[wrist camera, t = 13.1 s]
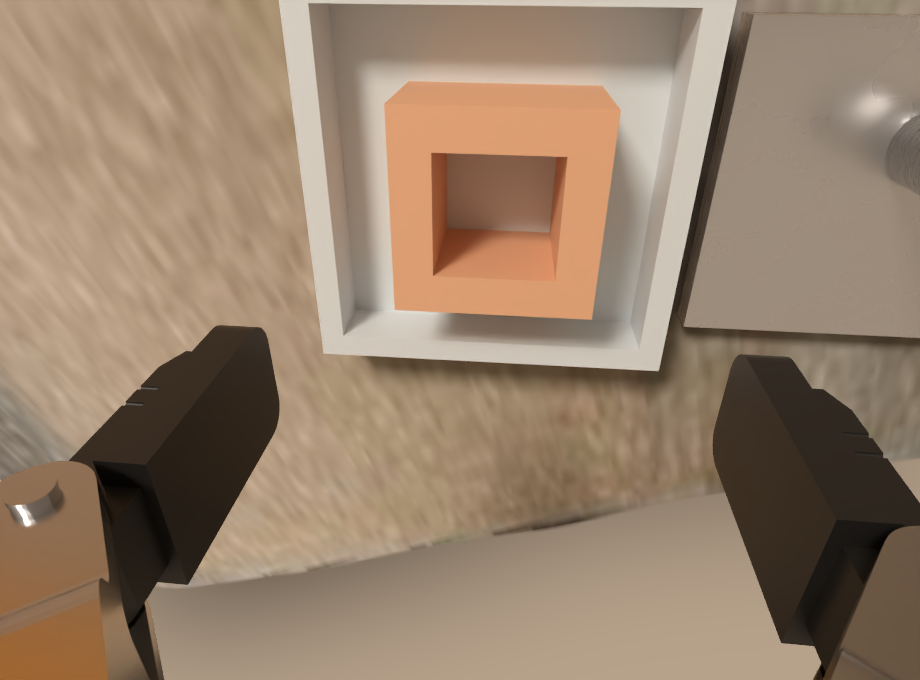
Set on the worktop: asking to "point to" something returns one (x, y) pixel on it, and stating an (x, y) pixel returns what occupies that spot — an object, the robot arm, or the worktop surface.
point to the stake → (813, 181)
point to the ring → (491, 251)
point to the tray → (503, 161)
